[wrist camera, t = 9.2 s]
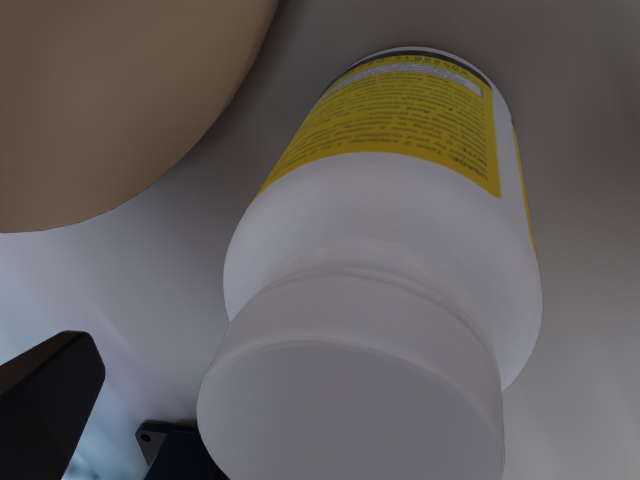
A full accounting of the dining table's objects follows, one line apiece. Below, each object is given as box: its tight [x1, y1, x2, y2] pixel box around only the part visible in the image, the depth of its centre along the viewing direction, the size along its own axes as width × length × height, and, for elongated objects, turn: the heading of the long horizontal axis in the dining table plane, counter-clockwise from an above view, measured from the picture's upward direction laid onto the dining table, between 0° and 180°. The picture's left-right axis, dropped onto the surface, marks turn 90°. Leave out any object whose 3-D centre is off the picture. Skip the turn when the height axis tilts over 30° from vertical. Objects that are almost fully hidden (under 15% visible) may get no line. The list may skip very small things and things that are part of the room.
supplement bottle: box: [196, 47, 543, 480], centre depth 11 cm, size 5×5×10 cm
